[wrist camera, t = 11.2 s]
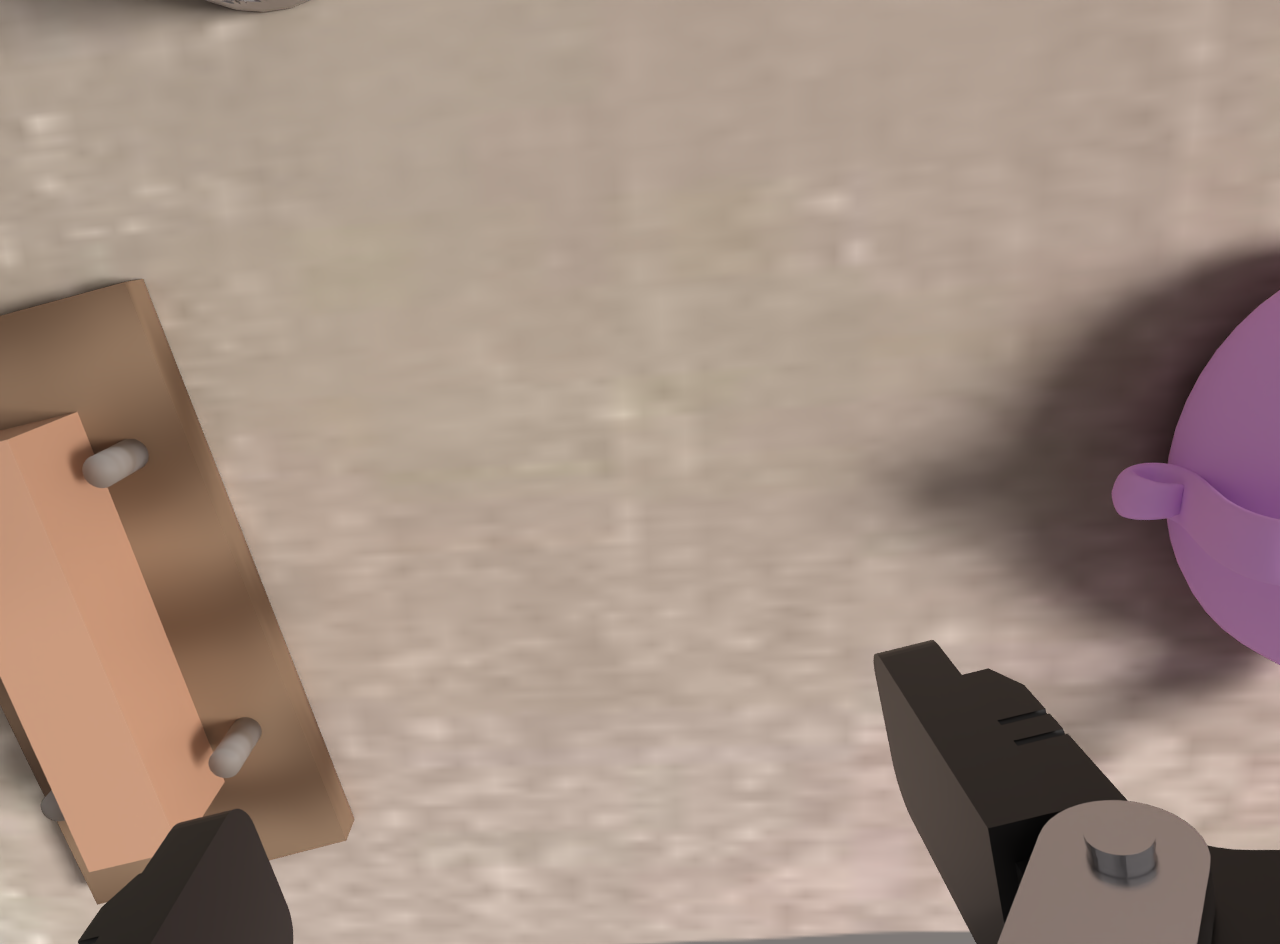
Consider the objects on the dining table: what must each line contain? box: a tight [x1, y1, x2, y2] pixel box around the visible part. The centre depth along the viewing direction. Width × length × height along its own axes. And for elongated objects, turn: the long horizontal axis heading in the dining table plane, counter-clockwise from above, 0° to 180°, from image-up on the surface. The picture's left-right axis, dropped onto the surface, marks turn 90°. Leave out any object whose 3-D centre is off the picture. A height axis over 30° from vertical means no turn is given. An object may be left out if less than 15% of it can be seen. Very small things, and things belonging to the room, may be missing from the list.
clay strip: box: [0, 412, 225, 872], centre depth 36 cm, size 16×4×4 cm, turn 13°
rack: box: [0, 279, 354, 904], centre depth 38 cm, size 24×11×4 cm, turn 15°
